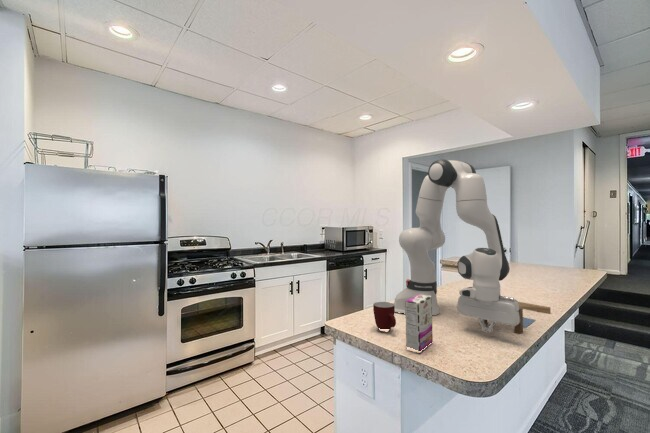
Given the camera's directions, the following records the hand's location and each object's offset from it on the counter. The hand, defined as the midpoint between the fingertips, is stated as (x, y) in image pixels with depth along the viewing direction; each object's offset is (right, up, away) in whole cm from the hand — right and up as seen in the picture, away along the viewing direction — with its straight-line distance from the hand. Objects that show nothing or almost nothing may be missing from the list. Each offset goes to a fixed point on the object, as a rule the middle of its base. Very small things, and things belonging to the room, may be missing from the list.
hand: (487, 331), depth 109 cm
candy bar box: (-27, -2, -8) cm, 28 cm away
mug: (-35, -3, +6) cm, 36 cm away
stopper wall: (+37, -2, +32) cm, 49 cm away
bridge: (+10, -2, +8) cm, 13 cm away
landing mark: (+20, -2, +18) cm, 27 cm away
